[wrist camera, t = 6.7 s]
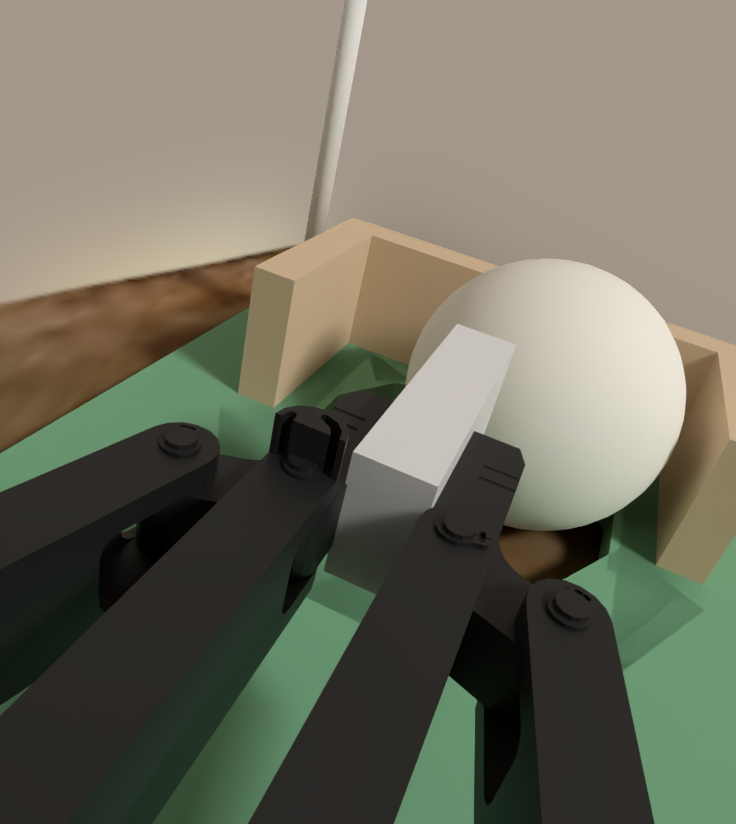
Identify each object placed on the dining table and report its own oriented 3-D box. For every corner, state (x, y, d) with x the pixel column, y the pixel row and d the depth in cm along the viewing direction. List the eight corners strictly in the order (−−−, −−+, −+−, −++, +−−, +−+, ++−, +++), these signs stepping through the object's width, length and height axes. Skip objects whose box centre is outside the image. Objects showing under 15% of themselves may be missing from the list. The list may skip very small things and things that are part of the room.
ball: (718, 578, 19) (454, 598, 25) (743, 390, 25) (526, 442, 31) (562, 303, 16) (307, 400, 22) (634, 167, 22) (419, 272, 28)
